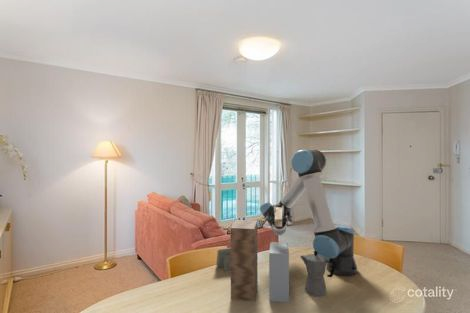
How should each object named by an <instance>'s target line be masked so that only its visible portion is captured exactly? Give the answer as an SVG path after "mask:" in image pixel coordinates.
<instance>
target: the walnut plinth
mask: <svg viewBox="0 0 470 313" xmlns="http://www.w3.org/2000/svg"><path fill="white" fill-rule="evenodd" d="M230 248H231V270H230V300H237V301H249V302H256V301H255V300H256V295H257V290H258V284H259V283H258V220H249V219H248V220H247V219H246V220H245V219H235V221H234V222H233V224H232V225H231V226H230Z"/></svg>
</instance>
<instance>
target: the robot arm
mask: <svg viewBox="0 0 470 313" xmlns="http://www.w3.org/2000/svg"><path fill="white" fill-rule="evenodd" d="M326 164H327V158H326V156H325V154H324V153H323V151H320V150H318V149H301V150H297V151H296V152H295V153H294V154H293V155H292V157H291V168H292V170H293V171H295V172H296V173H297V174H298V176H297V178H296V179H295V180H294V182H293V183H292V184H291V186H290V187H289V188H288V190H287V191H286V193H285V195H283V197H282V198H281V200H280V201H279V202H278V203H277V204H272V203H270V202H269V201H266V202H264V203H263V204H261V205H260V206H259V211H260V212H261V214H262V216H263V217H264V219H265V221H266V222H267V223H268V225H269V226H270V227H271V230H272V232H273V233H274V235H276V236H282V235H285V233H286V231H287V222H290V223H292V222H293V216H291V212H292V207H293V206H294V205H295V203H296V202H297V201H298V199H299V198H300V197H302V194H303V193H304V192H305V193H306V196H307V201H308V204H309V208H310V212H311V214H312V215H311V216H312V219H313V222H314V223H313V224H314V226H315V227H314V230H313V235H314V238H313V241H312V247H313V251H317V254H318V255H322V256H324V257H325V258H333V259H334V260H335V261H336V262H337V266H336V268H335V271H334V274H335V275H339V276H345V277H346V276H347V277H349V276H355V275H356V274H357V273H358V266H357V262H356V260H355V256H354V252H355V251H354V248H355V247H354V244H355V243H354V242H355V241H354V240H355V238H354V237H355V236H354V235H355V232H354V229H353V227H352V226H350V225H349V226H348V225H344V224H337V223H335V224H334V222H333V219H332V215H331V211H330V208H329V205H328V201H327V198H326V195H325V190H324V186H323V183H322V179H321V175H322V172H323V170H324V168H325V167H326ZM276 207H282V227H276V226H275V211H276ZM332 265H333V263H326V268H325V269H327V271H328V272H330V271H331V269H332ZM334 274H333V275H334Z"/></svg>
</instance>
